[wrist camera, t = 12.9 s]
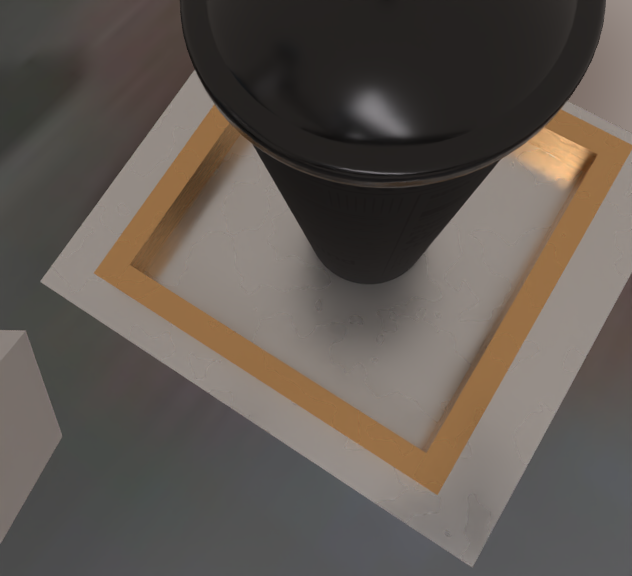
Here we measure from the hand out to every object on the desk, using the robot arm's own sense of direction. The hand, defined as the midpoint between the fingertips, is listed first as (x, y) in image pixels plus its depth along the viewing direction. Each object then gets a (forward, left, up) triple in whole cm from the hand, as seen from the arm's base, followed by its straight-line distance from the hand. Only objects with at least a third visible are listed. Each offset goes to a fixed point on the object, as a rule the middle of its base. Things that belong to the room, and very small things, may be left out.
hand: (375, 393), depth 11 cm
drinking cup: (-4, +6, -12) cm, 14 cm away
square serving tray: (-4, +8, -15) cm, 18 cm away
